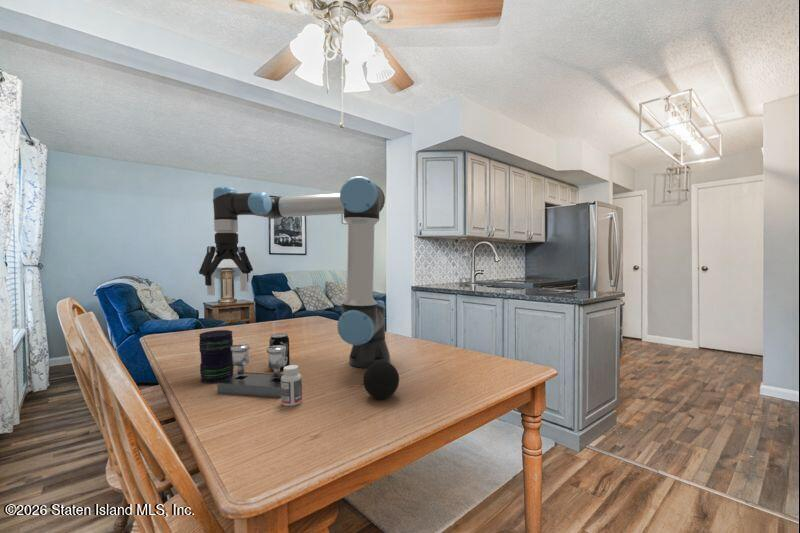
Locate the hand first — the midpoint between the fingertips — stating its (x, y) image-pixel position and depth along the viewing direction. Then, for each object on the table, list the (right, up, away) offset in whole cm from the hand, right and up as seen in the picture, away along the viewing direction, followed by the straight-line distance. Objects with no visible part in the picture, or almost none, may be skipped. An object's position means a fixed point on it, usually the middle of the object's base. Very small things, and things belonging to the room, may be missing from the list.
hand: (228, 293), depth 132 cm
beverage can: (+18, -27, 0) cm, 32 cm away
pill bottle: (+31, -28, -30) cm, 51 cm away
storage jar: (+1, -27, -9) cm, 29 cm away
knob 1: (+12, -23, -18) cm, 32 cm away
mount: (+18, -27, -19) cm, 38 cm away
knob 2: (+24, -23, -21) cm, 39 cm away
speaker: (+55, -27, -27) cm, 67 cm away
